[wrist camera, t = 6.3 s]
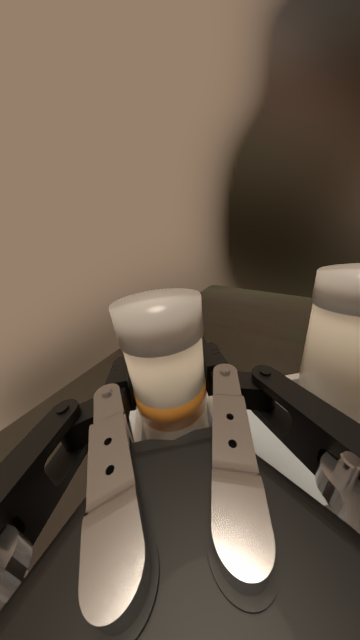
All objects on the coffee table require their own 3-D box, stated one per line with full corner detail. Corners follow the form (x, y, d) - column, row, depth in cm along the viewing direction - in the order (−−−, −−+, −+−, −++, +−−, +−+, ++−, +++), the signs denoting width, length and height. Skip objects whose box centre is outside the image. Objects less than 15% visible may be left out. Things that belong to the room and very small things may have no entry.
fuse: (307, 388, 17) (336, 262, 12) (373, 424, 13) (450, 262, 9) (280, 413, 15) (302, 273, 10) (349, 463, 11) (432, 281, 7)
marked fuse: (187, 412, 16) (171, 285, 12) (224, 455, 13) (220, 295, 8) (142, 443, 14) (100, 301, 10) (170, 506, 10) (124, 325, 6)
